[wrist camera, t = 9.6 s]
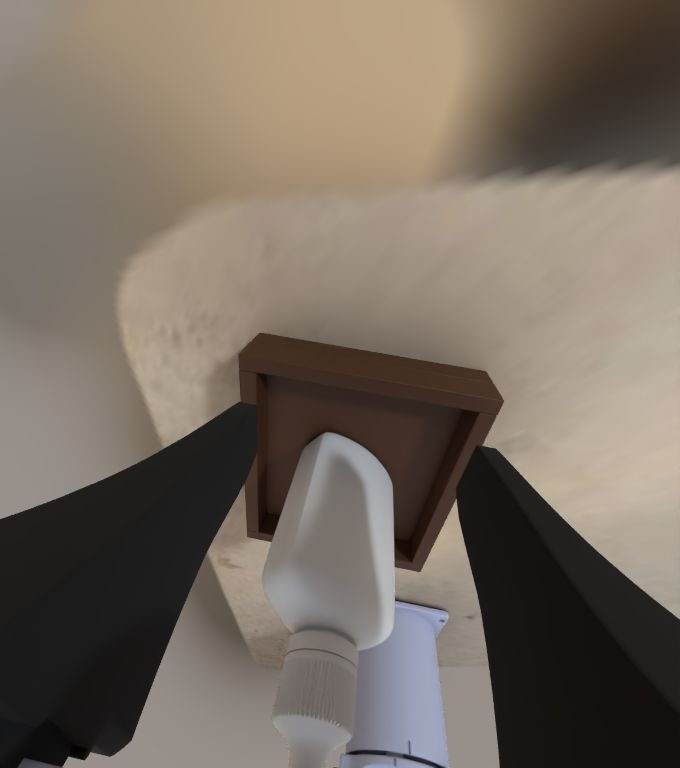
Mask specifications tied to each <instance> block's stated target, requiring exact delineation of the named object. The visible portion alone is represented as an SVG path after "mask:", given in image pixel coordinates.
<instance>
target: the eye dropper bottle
mask: <svg viewBox="0 0 680 768" xmlns="http://www.w3.org/2000/svg"><path fill="white" fill-rule="evenodd" d="M262 582H263V587H264V591H265V594H266V596H267V598H268V600H269V602H270V604H271V606H272V607H273V609H274V610H275V612H276V613H277V615H278V616H279V618H280V619H281V620H282V622H283V623H284V624H285V625H286V626H287V628H288V629H289V630H290V631H291V633H292V636H291V637H290V638H289V641H288V646H287V650H286V654H285V659H284V663H283V668H282V672H281V677H280V681H279V686H278V690H277V695H276V699H275V704H274V709H273V713H272V721H273V724H274V726H275V727H276V728H277V729H278V731H279V732H281V734H282V735H283V736H284V737H285V739H286V742H287V745H288V749H289V768H325V764H326V761H327V759H328V757H329V756H330V754H331V752H332V751H333V750H334V749H335V748H337V747H339V746H341V745H343V744H345V743H347V742H349V741H350V740H351V738H352V737H353V735H354V718H355V702H356V686H357V669H358V651H360V650H364V649H368V648H371V647H374V646H376V645H378V644H380V643H382V642H383V641H384V640H386V639H387V638H388V637H389V635H390V634H391V632H392V630H393V626H394V617H395V564H394V516H393V485H392V481H391V479H390V477H389V475H388V473H387V471H386V470H385V468H384V467H383V465H382V464H381V463H380V462H379V460H378V459H377V458H376V457H375V456H374V455H373V454H372V453H370V452H369V451H368V450H367V449H365V448H364V447H362V446H361V445H359V444H358V443H356V442H354V441H352V440H350V439H348V438H346V437H344V436H341V435H339V434H336V433H331V432H326V433H323V434H321V435H320V436H318V437H317V438H315V439H314V440H313V441H312V442H310V443H309V444H308V445H307V446H306V447H305V448H304V449H303V451H302V454H301V457H300V460H299V463H298V465H297V468H296V471H295V474H294V477H293V480H292V483H291V486H290V489H289V492H288V495H287V498H286V501H285V504H284V507H283V510H282V513H281V516H280V519H279V522H278V525H277V528H276V531H275V534H274V537H273V540H272V543H271V546H270V550H269V553H268V556H267V559H266V563H265V566H264V570H263V575H262Z"/></svg>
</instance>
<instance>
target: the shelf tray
mask: <svg viewBox="0 0 680 768" xmlns="http://www.w3.org/2000/svg"><path fill="white" fill-rule="evenodd" d="M239 369H240V370H239V374H240V394H241V402H243V403H248V404H254V405H257V432H258V452H257V454H256V457H255V460H254V462H253V465H252V467H251V470H250V472H249V475H248V477H247V479H246V481H245V498H246V519H247V537H250V538H254V539H259V540H264V541H269V542H272V540H273V537H274V534H275V531H276V528H277V525H278V522H279V519H280V516H281V513H282V510H283V507H284V504H285V501H286V498H287V495H288V492H289V489H290V486H291V483H292V480H293V477H294V474H295V471H296V468H297V465H298V463H299V460H300V457H301V454H302V451H303V449H304V448H305V447H306V446H307V445H308V444H309V443H310V442H312V441H313V440H314V439H315V438H317V437H318V436H320V435H321V434H323V433H326V432H331V433H336V434H339V435H341V436H344V437H346V438H348V439H350V440H352V441H354V442H356V443H358V444H359V445H361V446H362V447H364V448H365V449H367V450H368V451H369V452H370V453H372V454H373V455H374V456H375V457H376V458H377V459H378V460H379V462H380V463H381V464H382V465H383V467H384V468H385V470H386V471H387V473H388V475H389V477H390V479H391V481H392V485H393V516H394V564H395V567H397V568H402V569H407V570H412V571H417V572H421V569H422V567H423V565H424V563H425V561H426V559H427V557H428V555H429V553H430V551H431V549H432V547H433V545H434V543H435V541H436V539H437V537H438V535H439V533H440V531H441V529H442V526H443V524H444V522H445V520H446V518H447V516H448V514H449V512H450V510H451V508H452V506H453V504H454V502H455V500H456V498H457V497H456V487H457V485H458V483H459V480H460V478H461V476H462V474H463V472H464V470H465V468H466V466H467V464H468V462H469V459H470V457H471V455H472V453H473V451H474V449H475V447H476V445H479V446H482V445H483V443H484V441H485V439H486V437H487V435H488V433H489V431H490V429H491V427H492V424H493V422H494V420H495V418H496V415H498V413H499V411H500V409H501V407H502V405H503V402H504V400H503V398H502V396H501V395H500V393H499V391H498V390H497V388H496V386H495V385H494V384H493V382H492V380H491V378H490V377H489V375H488V373H487V372H485V371H480V370H474V369H468V368H462V367H456V366H450V365H445V364H439V363H433V362H427V361H421V360H415V359H410V358H404V357H398V356H392V355H386V354H381V353H375V352H369V351H363V350H357V349H351V348H346V347H340V346H334V345H328V344H322V343H316V342H311V341H305V340H299V339H293V338H287V337H282V336H276V335H270V334H264V333H259V334H258V335H257V336H256V337H255V338H254V339H253V340H252V342H250V343H249V344H248V345H247V346H246V347H245V348H244V349H243V350H242V351H241V352H240V353H239Z"/></svg>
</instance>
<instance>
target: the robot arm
mask: <svg viewBox="0 0 680 768" xmlns="http://www.w3.org/2000/svg"><path fill="white" fill-rule="evenodd" d="M257 452H258V432H257V405H254V404H248V403H243V402H238V403H237V404H235V405H233V406H232V407H230V408H229V409H227V410H226V411H224V412H223V413H221V414H220V415H218V416H217V417H215V418H214V419H212V420H211V421H209V422H208V423H206V424H204V425H203V426H201V427H200V428H198V429H197V430H195V431H193V432H192V433H190V434H189V435H187V436H185V437H184V438H182V439H180V440H178V441H177V442H175V443H173V444H172V445H170V446H168V447H166V448H165V449H163V450H161V451H159V452H158V453H156V454H154V455H152V456H150V457H149V458H147V459H145V460H143V461H141V462H139V463H137V464H135V465H133V466H131V467H129V468H127V469H125V470H123V471H121V472H118V473H116V474H114V475H112V476H110V477H108V478H105V479H103V480H101V481H98V482H97V483H94V484H91V485H89V486H87V487H84V488H82V489H79V490H77V491H75V492H72V493H70V494H67V495H65V496H63V497H60V498H58V499H55V500H52V501H50V502H47V503H44V504H42V505H39V506H36V507H34V508H31V509H28V510H25V511H23V512H20V513H17V514H14V515H11V516H8V517H6V518H3V519H0V768H62V766H63V765H64V763H65V761H66V760H67V758H68V757H73V758H77V759H81V760H85V759H86V758H87V757H88V755H89V754H90V752H93V753H97V754H101V755H105V756H109V757H110V756H112V755H114V754H116V753H117V752H119V751H120V750H121V749H122V748H124V747H125V746H126V745H127V744H128V743H129V742H130V741H131V740H132V737H133V735H134V732H135V730H136V727H137V724H138V721H139V718H140V716H141V713H142V710H143V708H144V705H145V702H146V700H147V697H148V694H149V692H150V689H151V686H152V684H153V681H154V678H155V676H156V673H157V670H158V668H159V665H160V663H161V660H162V658H163V655H164V653H165V650H166V648H167V645H168V643H169V640H170V638H171V635H172V633H173V630H174V627H175V625H176V622H177V620H178V618H179V616H180V613H181V611H182V608H183V606H184V604H185V601H186V599H187V596H188V594H189V592H190V589H191V587H192V585H193V582H194V580H195V578H196V575H197V573H198V571H199V569H200V566H201V564H202V562H203V559H204V557H205V555H206V553H207V551H208V549H209V547H210V545H211V543H212V541H213V539H214V537H215V536H216V534H217V532H218V530H219V528H220V527H221V525H222V523H223V521H224V519H225V517H226V516H227V514H228V512H229V510H230V508H231V507H232V505H233V503H234V501H235V499H236V498H237V496H238V494H239V492H240V490H241V488H242V487H243V485H244V483H245V481H246V479H247V477H248V475H249V472H250V470H251V467H252V465H253V462H254V460H255V457H256V454H257ZM456 497H457V507H458V514H459V521H460V525H461V529H462V534H463V538H464V542H465V546H466V550H467V554H468V558H469V562H470V566H471V570H472V574H473V578H474V582H475V586H476V590H477V594H478V599H479V604H480V609H481V614H482V621H483V627H484V634H485V641H486V647H487V654H488V662H489V669H490V677H491V685H492V692H493V702H494V711H495V721H496V730H497V740H498V749H499V761H500V762H499V763H500V768H680V619H678V618H677V617H676V616H674V615H673V614H672V613H671V612H669V611H668V610H667V609H666V608H664V607H663V606H662V605H660V604H659V603H658V602H657V601H655V600H654V599H653V598H652V597H650V596H649V595H648V594H647V593H645V592H644V591H643V590H642V589H641V588H639V587H638V586H637V585H636V584H634V583H633V582H632V581H631V580H630V579H629V578H627V577H626V576H625V575H624V574H623V573H622V572H620V571H619V570H618V569H617V568H616V567H615V566H613V565H612V564H611V563H610V562H609V561H608V560H607V559H605V558H604V557H603V556H602V555H601V554H600V553H599V552H598V551H596V550H595V549H594V548H593V547H592V546H591V545H590V544H589V543H588V542H587V541H586V540H585V539H584V538H582V537H581V536H580V535H579V534H578V533H577V532H576V531H575V530H574V529H573V528H572V527H571V526H570V525H569V524H568V523H567V522H566V521H565V520H564V519H563V518H562V517H561V516H560V515H559V514H558V513H557V512H556V511H555V510H554V509H553V508H552V507H551V506H550V505H549V504H548V503H547V502H546V501H545V500H544V499H543V498H542V497H541V496H540V495H539V494H538V493H537V491H536V490H535V489H534V488H533V487H532V486H531V485H530V484H529V483H528V482H527V481H526V480H525V479H524V478H523V476H522V475H521V474H520V473H519V472H518V471H517V470H516V469H515V468H514V467H513V466H512V465H511V464H510V463H509V461H508V460H507V459H506V458H505V457H504V456H503V455H502V454H501V453H500V452H499V451H498V450H497V449H495V448H490V447H484V446H479V445H476V447H475V449H474V451H473V453H472V455H471V457H470V459H469V462H468V464H467V466H466V468H465V470H464V472H463V474H462V476H461V478H460V480H459V483H458V485H457V487H456ZM448 619H449V615H448V613H447V612H446V611H443V610H438V609H433V608H428V607H423V606H418V605H414V604H409V603H404V602H399V601H395V617H394V626H393V630H392V632H391V634H390V635H389V637H388V638H387V639H386V640H384V641H383V642H382V643H380V644H378V645H376V646H374V647H371V648H368V649H364V650H360V651H358V669H357V686H356V702H355V718H354V735H353V737H352V738H351V740H350V741H349V742H347V743H346V754H341V755H340V767H339V768H449V758H448V750H447V740H446V731H445V723H444V714H443V705H442V696H441V687H440V678H439V670H438V660H437V652H436V643H435V638H436V637H437V635H438V634H439V632H440V631H441V630H442V628H443V627H444V625H445V624H446V622H447V621H448ZM334 768H336V767H334Z"/></svg>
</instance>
